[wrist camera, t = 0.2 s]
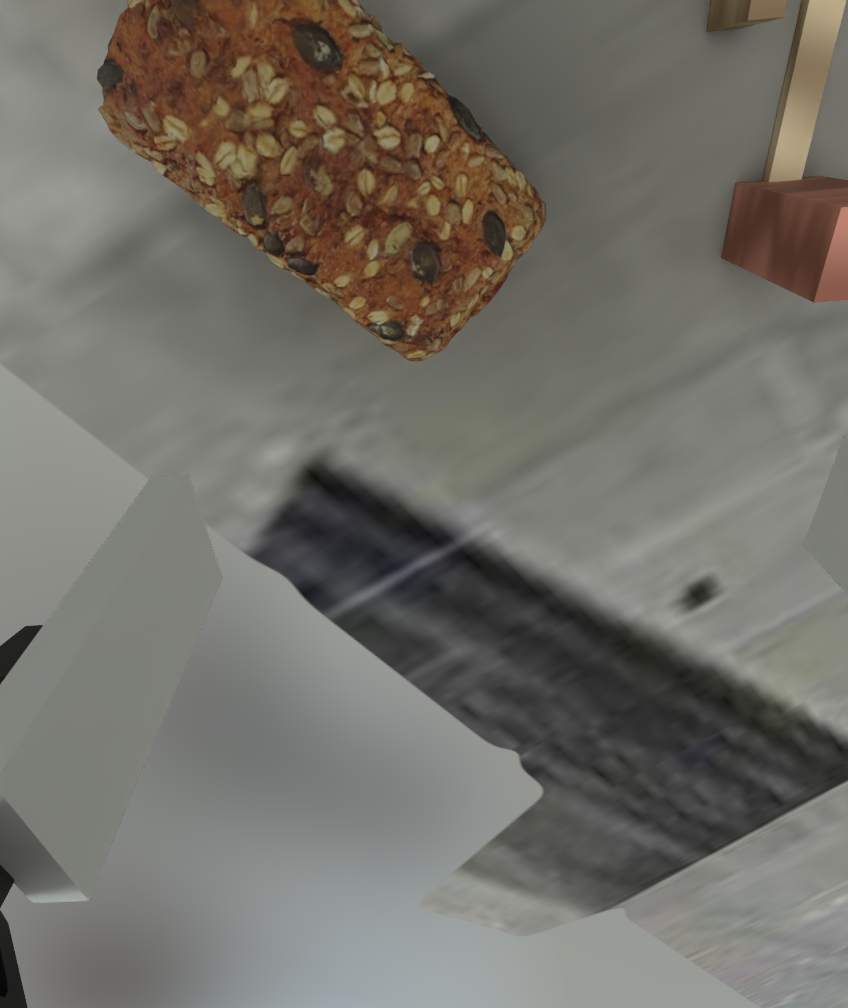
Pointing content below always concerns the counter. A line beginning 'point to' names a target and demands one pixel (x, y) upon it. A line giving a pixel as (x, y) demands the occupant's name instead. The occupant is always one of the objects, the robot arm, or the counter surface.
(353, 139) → the bread
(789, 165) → the tethered block
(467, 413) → the counter surface
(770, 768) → the counter surface
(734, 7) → the frame
